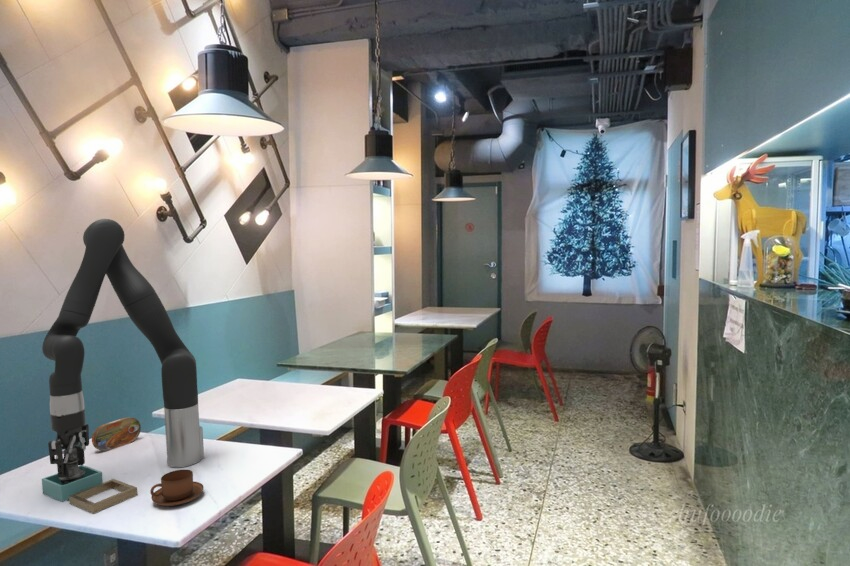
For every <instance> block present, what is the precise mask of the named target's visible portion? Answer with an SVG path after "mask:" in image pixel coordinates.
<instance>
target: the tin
mask: <svg viewBox="0 0 850 566" xmlns="http://www.w3.org/2000/svg"><path fill="white" fill-rule="evenodd" d="M141 429H142V426H141V423H140V421H139V420H138V419H137V418H135V417H130V416H129V417H128V416H126V417H122V418H119V419H116V420H113V421H109V422H107V423H104V424H101V425H99V426H98V427H96V428H95V430H94V431H93V433H92V436H91V443H92V446H93V447H94V448H95V449H97V450H98V451H102V452H109V451H111V450H115V449H117V448H120V447H123V446H125V445H128V444H130V443H133V442H134V441H136V440H137V438H139V436H140V433H141V431H142V430H141Z"/></svg>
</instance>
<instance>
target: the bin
mask: <svg viewBox="0 0 850 566" xmlns="http://www.w3.org/2000/svg"><path fill="white" fill-rule="evenodd" d="M78 467H79V470H84V471H85V474H84V477H83V478H82V479H79V480H76V481H74V482H71V483H68V484H65V485H63V484H62V483H61V481H60V479H59V477H58V472H57V473H55V474H52V475H50V476H46V477H43V478H41V487H42V489H41V490H42V494H43V495H45V496H47V497H50V498H52V499H55V500H57V501H59V502H61V503H64V502H67V501H68V500H69V496H70V495H73V494H75V493H78V492H80V491H83V490H86V489H88V488H91V487H93V486H96V485H99V484H101V483H104V481H103V471H101V470H98V469H95V468H91V467H89V466H87V465H85V464H83V465H78Z"/></svg>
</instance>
